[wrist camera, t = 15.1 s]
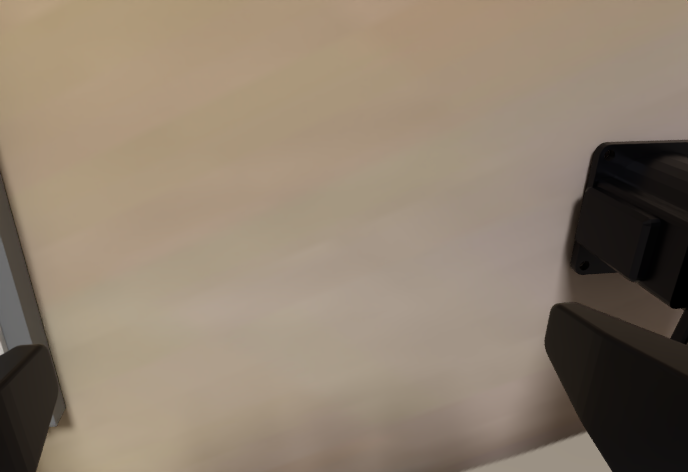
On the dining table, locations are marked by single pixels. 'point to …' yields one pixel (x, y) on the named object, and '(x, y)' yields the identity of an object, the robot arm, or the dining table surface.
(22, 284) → the rail board
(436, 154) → the dining table surface
